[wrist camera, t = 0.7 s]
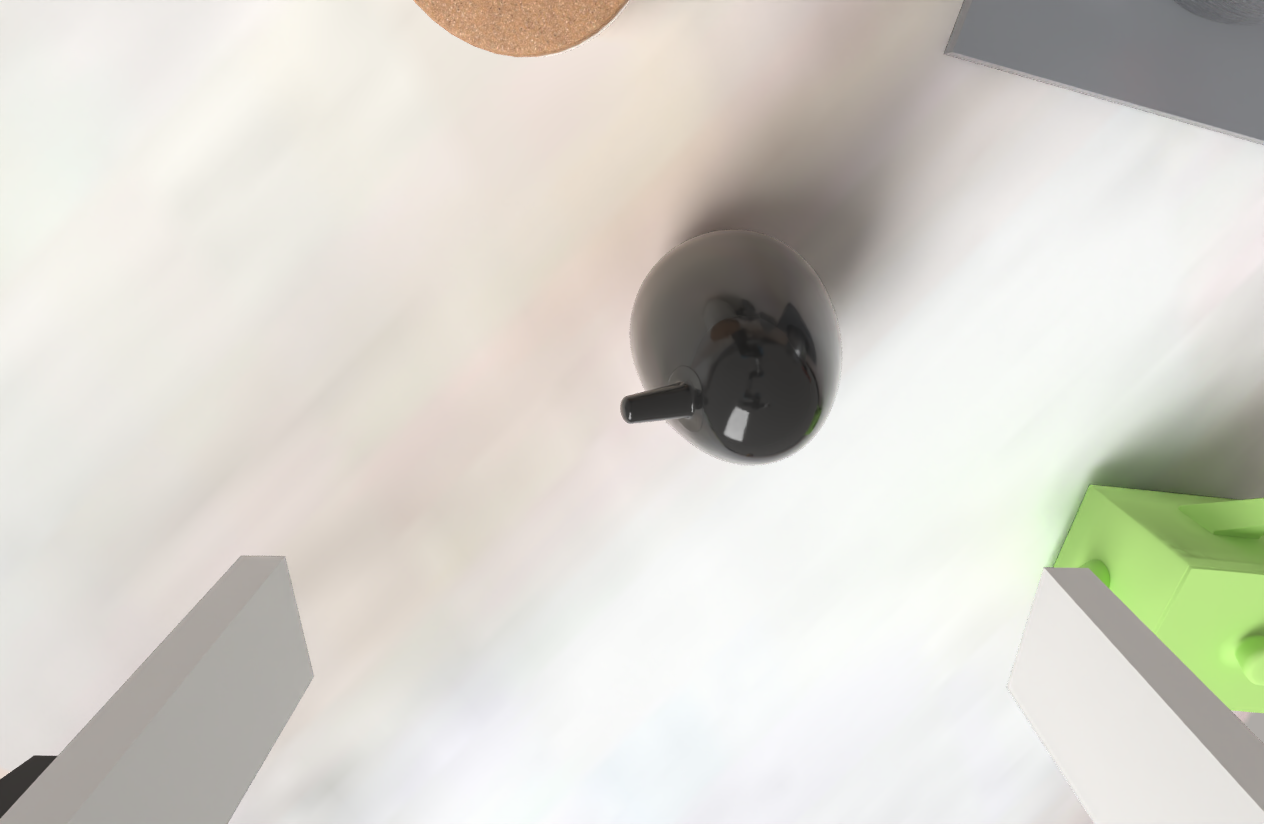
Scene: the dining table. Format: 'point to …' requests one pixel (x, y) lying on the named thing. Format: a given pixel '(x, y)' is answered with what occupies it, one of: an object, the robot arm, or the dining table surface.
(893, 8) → the dining table surface
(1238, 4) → the pot
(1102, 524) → the kettle
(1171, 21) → the trivet
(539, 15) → the lidded jar
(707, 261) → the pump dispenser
